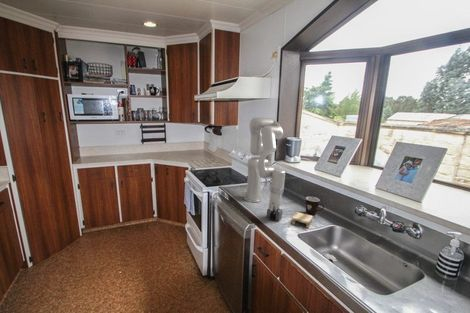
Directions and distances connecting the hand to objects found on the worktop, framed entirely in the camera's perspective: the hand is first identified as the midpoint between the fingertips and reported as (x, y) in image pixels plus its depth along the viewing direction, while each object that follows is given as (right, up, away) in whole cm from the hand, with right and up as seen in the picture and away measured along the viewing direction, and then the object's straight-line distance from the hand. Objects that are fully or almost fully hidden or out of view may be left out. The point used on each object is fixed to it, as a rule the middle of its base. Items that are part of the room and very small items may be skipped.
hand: (274, 217), depth 148 cm
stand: (+16, -2, -4) cm, 17 cm away
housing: (0, -1, 0) cm, 1 cm away
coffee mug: (+27, -1, +10) cm, 28 cm away
